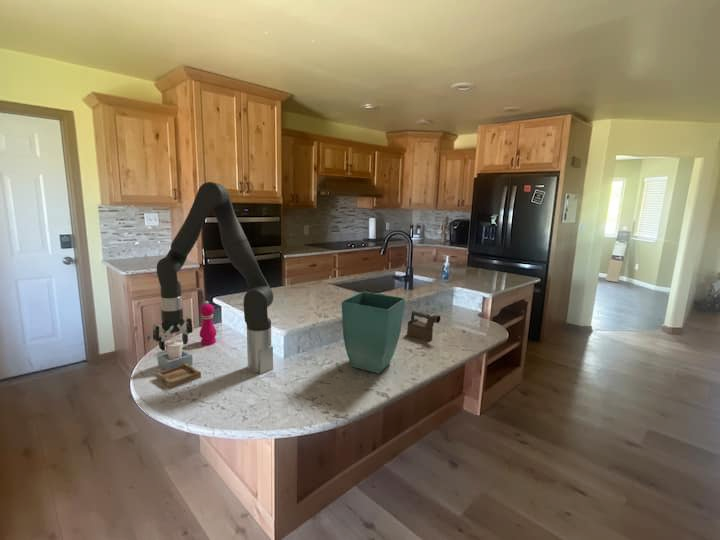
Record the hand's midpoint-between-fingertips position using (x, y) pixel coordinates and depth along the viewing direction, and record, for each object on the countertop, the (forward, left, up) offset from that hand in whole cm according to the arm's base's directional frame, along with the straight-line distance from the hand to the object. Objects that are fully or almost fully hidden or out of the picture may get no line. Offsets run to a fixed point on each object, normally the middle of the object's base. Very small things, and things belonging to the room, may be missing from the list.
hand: (174, 346), depth 148 cm
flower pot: (-57, -54, -8) cm, 79 cm away
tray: (-11, +4, -8) cm, 14 cm away
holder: (0, 0, -8) cm, 8 cm away
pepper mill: (+12, -21, -8) cm, 25 cm away
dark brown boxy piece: (-57, -97, -8) cm, 113 cm away
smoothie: (0, 0, -8) cm, 8 cm away
